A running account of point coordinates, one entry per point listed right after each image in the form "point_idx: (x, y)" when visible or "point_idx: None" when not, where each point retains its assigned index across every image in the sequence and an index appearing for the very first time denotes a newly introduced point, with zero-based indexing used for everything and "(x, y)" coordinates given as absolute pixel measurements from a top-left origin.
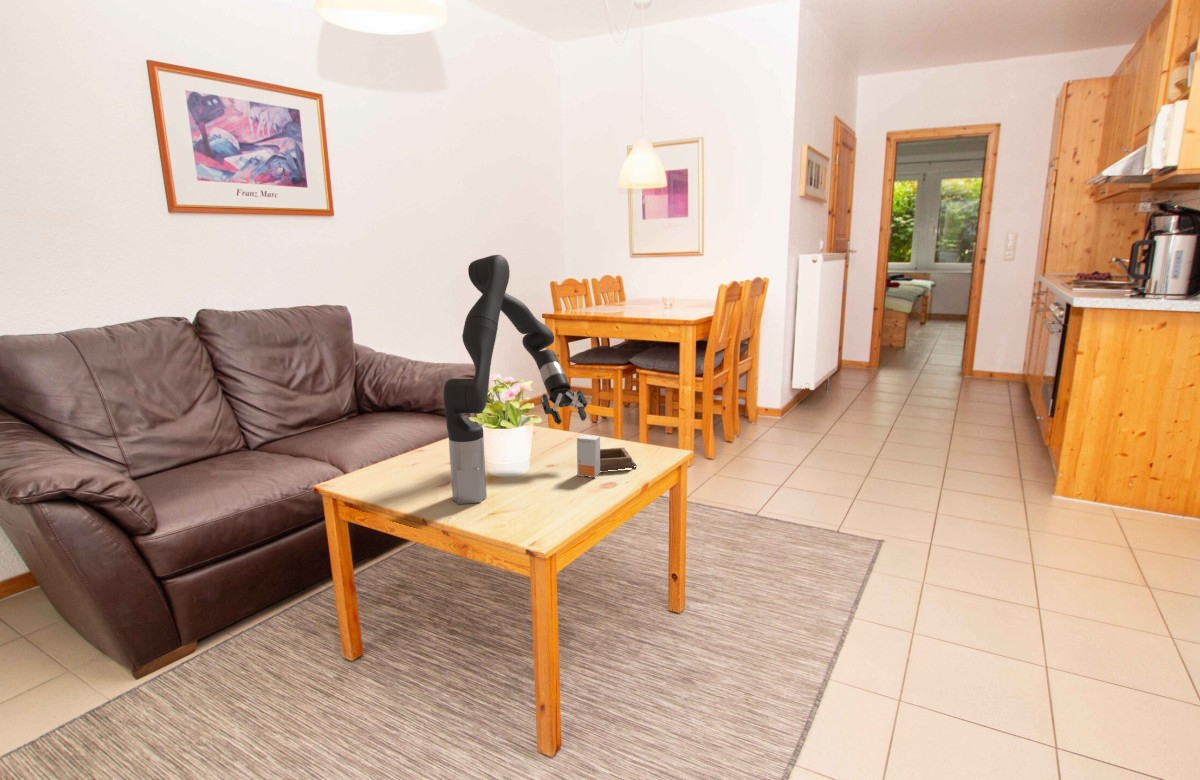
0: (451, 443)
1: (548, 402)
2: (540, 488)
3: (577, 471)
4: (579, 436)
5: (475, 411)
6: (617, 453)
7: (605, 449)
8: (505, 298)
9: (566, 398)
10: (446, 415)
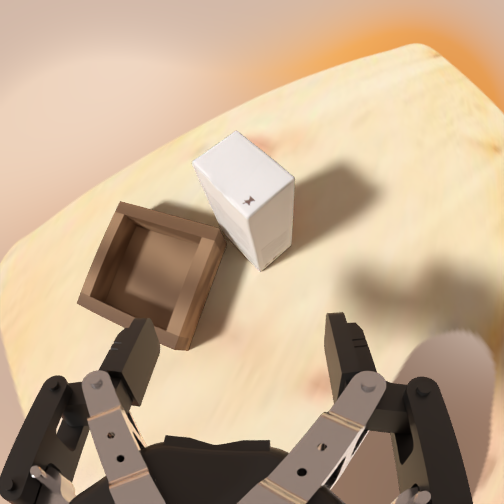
0: None
1: (424, 447)
2: (413, 210)
3: (291, 239)
4: (273, 193)
5: None
6: (106, 303)
7: (128, 320)
8: None
9: (183, 485)
10: None
